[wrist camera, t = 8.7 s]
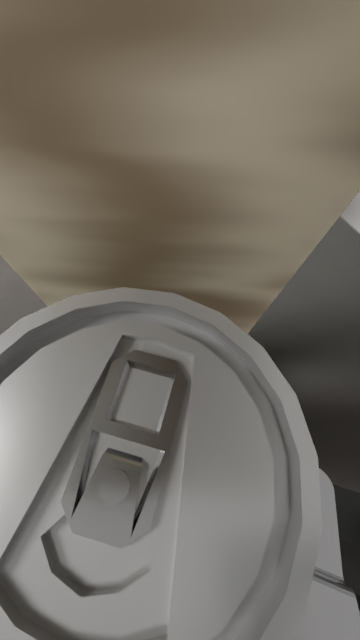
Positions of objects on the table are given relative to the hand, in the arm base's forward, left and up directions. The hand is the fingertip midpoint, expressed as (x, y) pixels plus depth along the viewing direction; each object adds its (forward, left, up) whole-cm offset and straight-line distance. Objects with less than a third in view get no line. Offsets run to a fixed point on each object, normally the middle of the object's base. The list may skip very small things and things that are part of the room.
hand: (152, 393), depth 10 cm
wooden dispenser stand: (0, +1, -10) cm, 11 cm away
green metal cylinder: (0, +2, -5) cm, 6 cm away
